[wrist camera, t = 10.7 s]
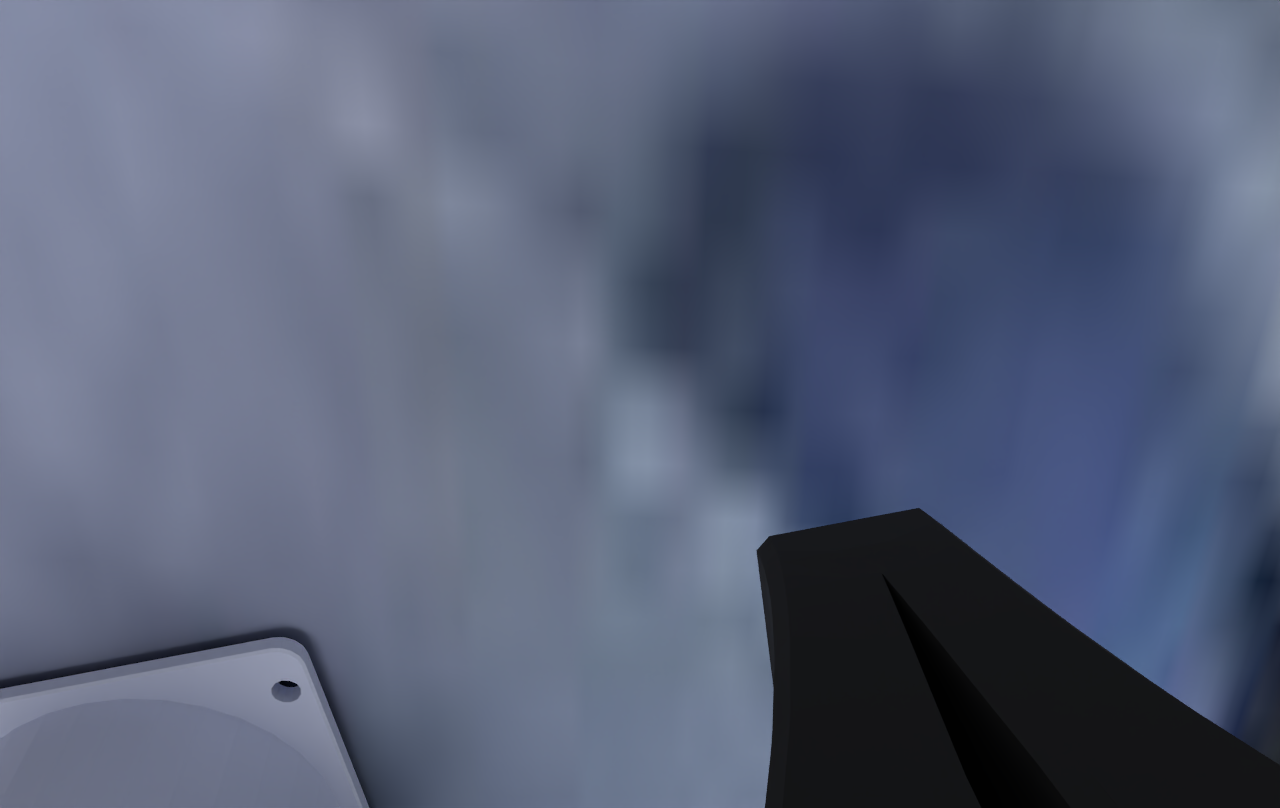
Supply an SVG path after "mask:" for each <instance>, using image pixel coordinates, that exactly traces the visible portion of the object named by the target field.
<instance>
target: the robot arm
mask: <svg viewBox="0 0 1280 808" xmlns="http://www.w3.org/2000/svg"><path fill="white" fill-rule="evenodd" d="M757 557H758V565H759V574H760V582H761V590H762V598H763V606H764V614H765V622H766V630H767V638H768V646H769V654H770V662H771V670H772V678H773V686H774V696H773V731H772V745H771V757H770V766H769V775H768V785H767V794H766V803H765V808H1280V765H1279V764H1277V763H1276V762H1274V761H1272V760H1271V759H1269V758H1268V757H1266V756H1265V755H1263V754H1261V753H1260V752H1258V751H1257V750H1255V749H1254V748H1252V747H1250V746H1249V745H1247V744H1246V743H1244V742H1243V741H1241V740H1239V739H1238V738H1236V737H1235V736H1233V735H1232V734H1230V733H1228V732H1227V731H1225V730H1224V729H1222V728H1221V727H1219V726H1217V725H1216V724H1214V723H1213V722H1211V721H1210V720H1208V719H1207V718H1205V717H1203V716H1202V715H1200V714H1199V713H1197V712H1196V711H1194V710H1193V709H1191V708H1190V707H1188V706H1187V705H1185V704H1184V703H1182V702H1181V701H1179V700H1178V699H1176V698H1175V697H1173V696H1172V695H1170V694H1169V693H1167V692H1166V691H1164V690H1163V689H1162V688H1160V687H1159V686H1157V685H1156V684H1154V683H1153V682H1151V681H1150V680H1148V679H1147V678H1146V677H1144V676H1143V675H1141V674H1140V673H1139V672H1137V671H1136V670H1134V669H1133V668H1131V667H1130V666H1129V665H1127V664H1126V663H1124V662H1123V661H1122V660H1120V659H1119V658H1117V657H1116V656H1115V655H1113V654H1112V653H1110V652H1109V651H1108V650H1106V649H1105V648H1103V647H1102V646H1101V645H1099V644H1098V643H1096V642H1095V641H1094V640H1092V639H1091V638H1089V637H1088V636H1087V635H1085V634H1084V633H1082V632H1081V631H1079V630H1078V629H1077V628H1075V627H1074V626H1073V625H1071V624H1070V623H1069V622H1067V621H1066V620H1065V619H1063V618H1062V617H1061V616H1059V615H1058V614H1056V613H1055V612H1054V611H1052V610H1051V609H1050V608H1048V607H1047V606H1046V605H1044V604H1043V603H1042V602H1040V601H1039V600H1038V599H1037V598H1035V597H1034V596H1033V595H1031V594H1030V593H1029V592H1027V591H1026V590H1025V589H1023V588H1022V587H1021V586H1020V585H1018V584H1017V583H1016V582H1014V581H1013V580H1012V579H1010V578H1009V577H1008V576H1006V575H1005V574H1004V573H1003V572H1001V571H1000V570H999V569H997V568H996V567H995V566H994V565H992V564H991V563H990V562H989V561H987V560H986V559H985V558H983V557H982V556H981V555H980V554H978V553H977V552H976V551H974V550H973V549H972V548H971V547H969V546H968V545H967V544H966V543H964V542H963V541H962V540H960V539H959V538H958V537H957V536H955V535H954V534H953V533H952V532H950V531H949V530H948V529H946V528H945V527H944V526H943V525H941V524H940V523H939V522H937V521H936V520H935V519H933V518H932V517H931V516H929V515H928V514H927V513H925V512H924V511H922V510H921V509H920V508H916V509H911V510H906V511H900V512H895V513H890V514H885V515H879V516H874V517H869V518H863V519H858V520H853V521H847V522H842V523H837V524H832V525H826V526H821V527H816V528H810V529H805V530H800V531H794V532H789V533H784V534H779V535H773V536H769V537H768V538H767V539H766V541H765V542H764V543H763V544H762V545H761V546H760V547H759V549H758V550H757ZM279 681H291V682H294V683H296V684H297V685H298V686H296V687H285V686H283V685H281V684H279ZM0 808H369V806H368V803H367V800H366V798H365V795H364V793H363V790H362V788H361V785H360V783H359V780H358V778H357V775H356V773H355V770H354V768H353V765H352V763H351V760H350V757H349V755H348V752H347V750H346V747H345V745H344V742H343V740H342V737H341V735H340V732H339V730H338V727H337V725H336V722H335V720H334V717H333V714H332V712H331V709H330V707H329V704H328V702H327V699H326V697H325V694H324V692H323V689H322V687H321V684H320V682H319V679H318V677H317V674H316V671H315V669H314V666H313V664H312V661H311V659H310V656H309V654H308V652H307V651H306V649H305V648H304V646H303V645H301V644H300V643H298V642H297V641H295V640H293V639H289V638H285V637H272V638H267V639H262V640H257V641H251V642H246V643H241V644H235V645H230V646H225V647H220V648H214V649H209V650H204V651H198V652H193V653H188V654H182V655H177V656H172V657H167V658H161V659H156V660H151V661H145V662H140V663H135V664H129V665H124V666H119V667H114V668H108V669H103V670H98V671H92V672H87V673H82V674H77V675H71V676H66V677H61V678H55V679H50V680H45V681H39V682H34V683H29V684H24V685H18V686H13V687H8V688H2V689H0Z"/></svg>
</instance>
